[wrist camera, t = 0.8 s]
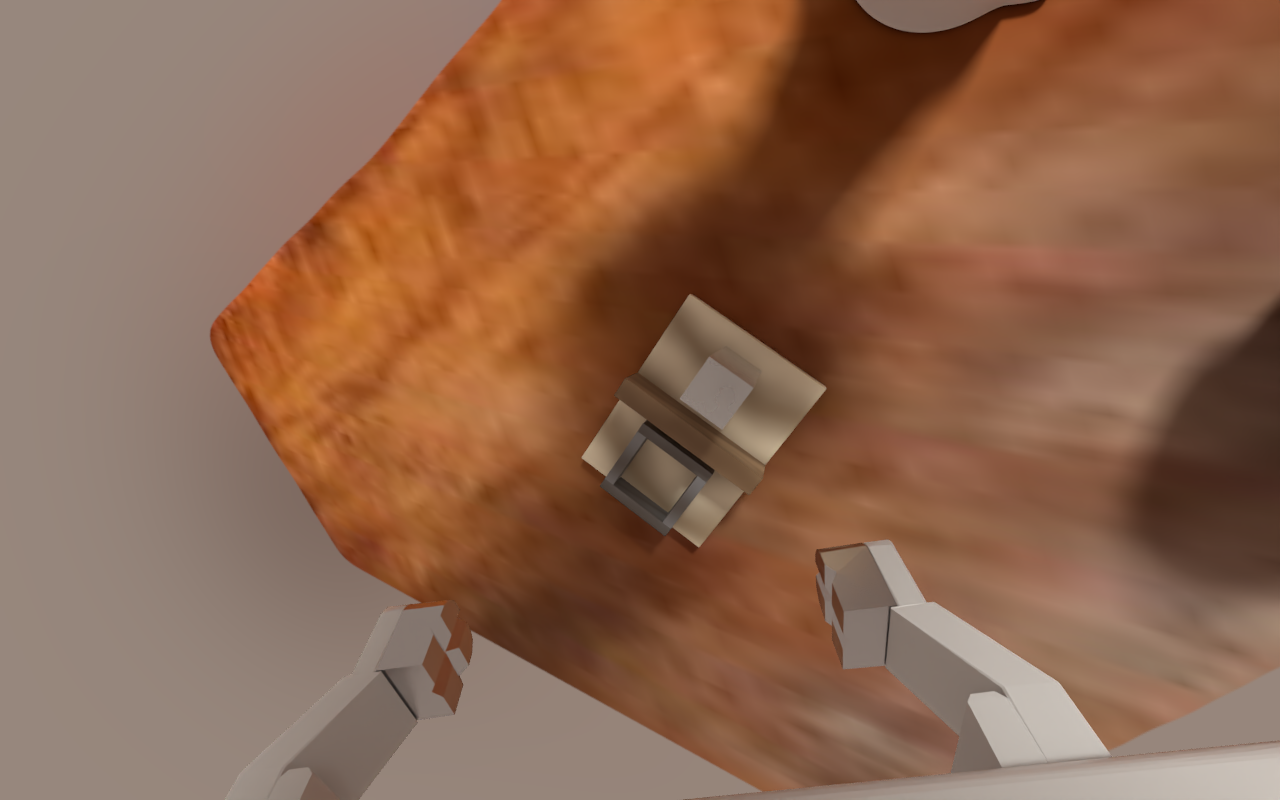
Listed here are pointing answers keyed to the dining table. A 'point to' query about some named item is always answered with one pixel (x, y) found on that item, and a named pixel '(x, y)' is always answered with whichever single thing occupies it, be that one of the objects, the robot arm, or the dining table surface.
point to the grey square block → (721, 386)
